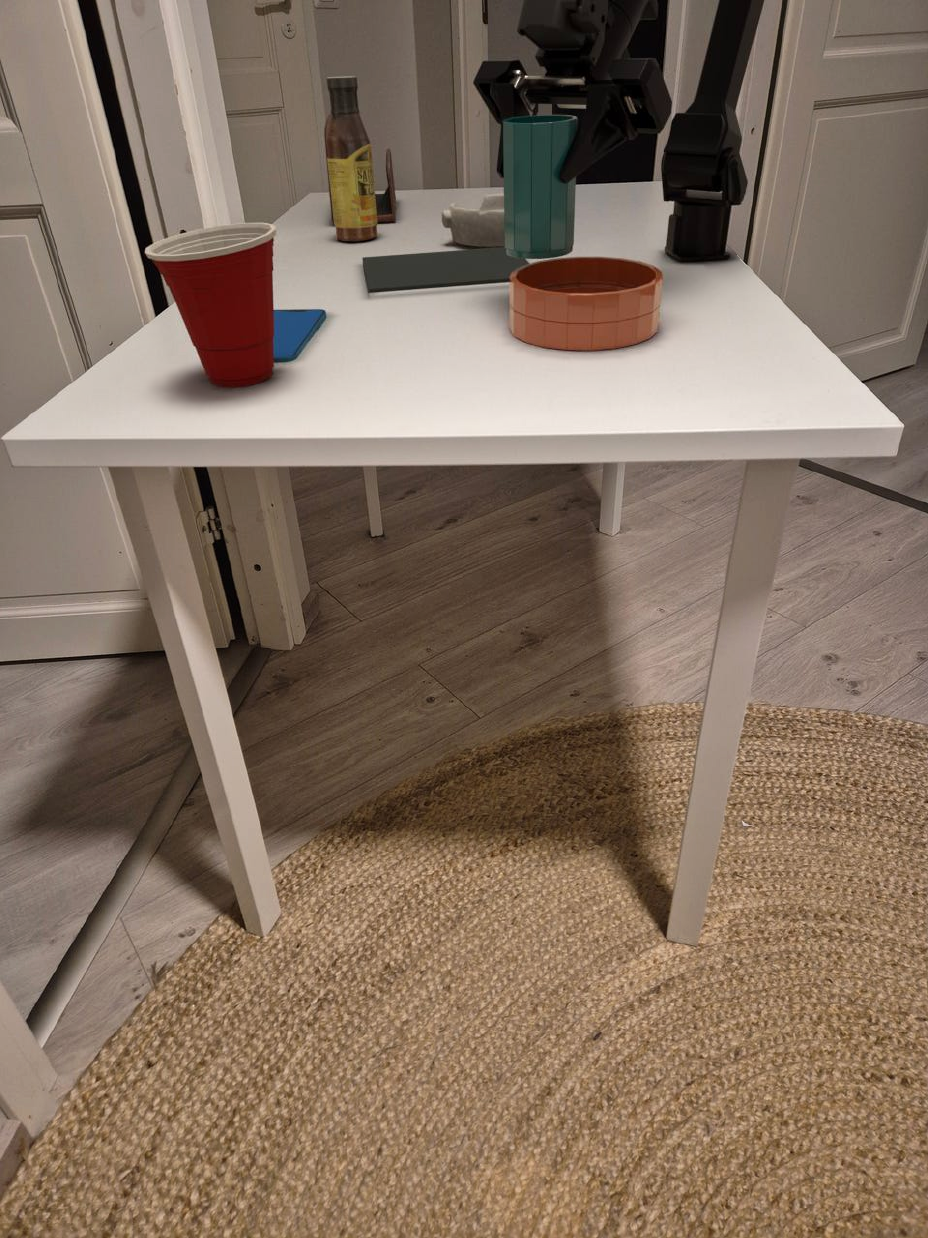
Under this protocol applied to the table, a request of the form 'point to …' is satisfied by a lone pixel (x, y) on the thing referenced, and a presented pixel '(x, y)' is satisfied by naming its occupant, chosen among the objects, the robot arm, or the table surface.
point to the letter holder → (383, 201)
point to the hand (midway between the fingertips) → (530, 177)
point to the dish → (477, 222)
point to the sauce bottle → (350, 164)
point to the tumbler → (538, 186)
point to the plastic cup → (224, 297)
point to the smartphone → (294, 331)
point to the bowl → (585, 303)
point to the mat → (439, 269)
